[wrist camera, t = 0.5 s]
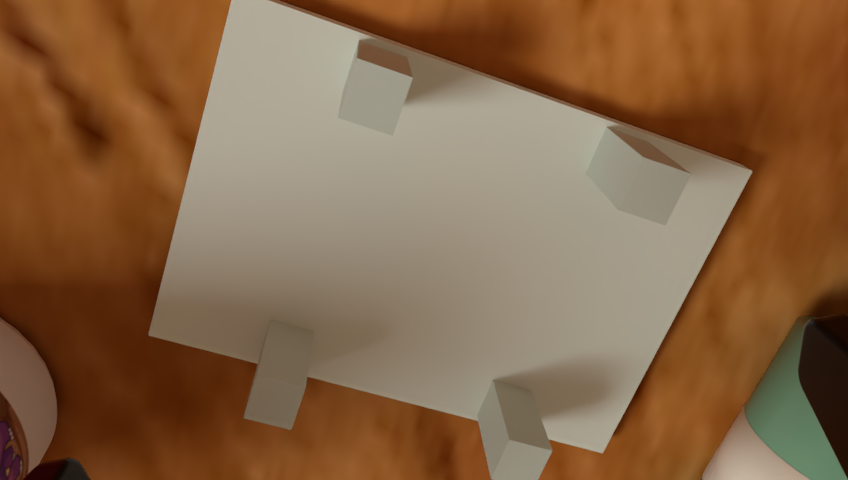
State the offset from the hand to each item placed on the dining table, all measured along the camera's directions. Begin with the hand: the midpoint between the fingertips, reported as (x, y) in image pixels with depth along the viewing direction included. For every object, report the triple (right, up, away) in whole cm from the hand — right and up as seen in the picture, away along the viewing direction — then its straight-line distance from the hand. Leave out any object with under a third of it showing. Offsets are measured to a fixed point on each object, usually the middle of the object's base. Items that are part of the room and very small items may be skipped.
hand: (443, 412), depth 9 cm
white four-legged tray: (0, +2, +15) cm, 15 cm away
